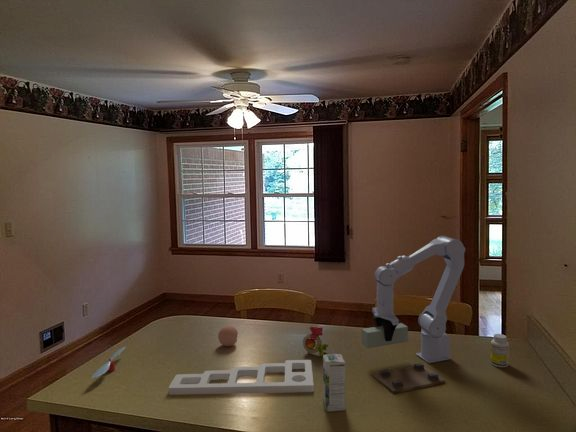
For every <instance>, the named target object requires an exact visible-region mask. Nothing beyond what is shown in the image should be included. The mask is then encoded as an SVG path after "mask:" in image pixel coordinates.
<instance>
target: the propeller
mask: <svg viewBox="0 0 576 432" xmlns="http://www.w3.org/2000/svg"><path fill="white" fill-rule="evenodd" d="M126 347H127V346H123V347H121V348H120V349H118V350H117V351H115V352H114V353H113V354H112V355H111V357H110V358H109V359H108V360H107V362H106V363H104V364H103V365H102V366H100V367H99V368H98V369H97V370H96V371H95V372H94V373H93V374H92V376H91V377H90V378H91V379H96V378H98V377H100V376H102V375H104V374H106V373H109V372H113V371H115V369H116V366H115V361H113V360H114V358H116V357H117V356H119V355H120V354H121V353H122V352H123V351H124V350H125V349H126Z"/></svg>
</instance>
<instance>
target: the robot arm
mask: <svg viewBox="0 0 576 432" xmlns="http://www.w3.org/2000/svg"><path fill="white" fill-rule="evenodd" d="M466 250H467V249H466V247H465V246H464V243H463V242H462V241H461V240H460V239H458V238H457V239H456V238H452V237H449V236H446V235H440V236H438V237H436V238H434V239H432V240H431V241H430V242H428V244H426V245H424V246H422V247H421V248H420V249H418V250H417V251H415V252H414V253H412V254H410V255H408V256H407V255H399V256H396V258H397V259H395V260H392V261H391V262H390V263H388V262H387V263H385V266H384V265H382V266H379V267H377V268H376V270H375V271H374V273H373V277H374V279H375V280H376V306H375V307H374V306H373V307H372V312H371V313H372V314H373V316H372V320H373V322H374V324H375V327H378V326H383V329H384V335H385V340H386V341H392V337H393V333H394V331H395V328H396V327H397V325H399V323H400V320H399V318H398V317H397V316H396V314H395V313H394V284H395V282H396V281H397V279H398V278H400V277H402V276H404V275H406V274H408V273H409V272H411V271H413V270H414V266H415V265H416V264H418V263H420V262H422V261H424V260H427V259H428V258H431V257H433V256H441V257H442V258H443V260H444V262H445V264H446V266H445V269H444V271H443V273H442V276H441V279H440V280H439V283H438V285H437V288H436V291H435V293H434V295H433V298H432V300H431V302H430V304H429V305H427V306H425V308H424V310H423V312H421V313H420V314H419V315H418V319H417V321H418V325H419V326H420V327H421V331H420V351H419V352H416V353H415V355H416V356H417V357H419V358H421V359H422V360H423V361H425V362H426V363H428V364H432V363H437V362H438V363H439V362H442V361H448V360H452V357H451V356H450V350H451V349H450V348H451V347H450V346H451V343H450V341H451V339H450V337H449V335H448V334H447V333H446V330H447V325H446V324H447V321H448V316H447V313H446V312H447V311H446V310H447V308H448V306H449V304H450V301H451V299H452V297H453V295H454V291H455V289H456V286H457V284H458V283H459V279H460V278H461V274H462V273H463V270H464V267H465V252H466Z"/></svg>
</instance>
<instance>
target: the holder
mask: <svg viewBox="0 0 576 432" xmlns="http://www.w3.org/2000/svg"><path fill="white" fill-rule="evenodd" d="M293 370H304V371H293ZM267 372H269V373H284V381H280V382H279V381H278V382H277V381H276V382H274V381H273V382H272V381H271V382H265V379H266V374H267ZM265 373H266V374H265ZM313 376H314V375H313V366H312V359H288V360H287V359H286V360H285V361H284V362H273V363H270V362H269V363H267V362H266V363H259V364H258V366H232V368H231V369H227V370H226V369H225V370H224V369H222V370H221V369H220V370H218V369H217V370H204V372H203V373H181V374H179V373H178V374H175V376H174V377H173V379H172V381H171V382H170V384H169V386H168V395H170V396H171V395H173V396H174V395H217V394H218V395H221V394H222V395H224V394H227V395H228V394H273V393H274V394H275V393H279V394H280V393H284V394H285V393H314V390H315V389H314V386H315V383H314V377H313ZM239 377H256V380H255V382H238V378H239ZM219 379H220V380H219ZM221 379H222V380H221ZM223 379H224V381H225V379H229V380H227V382H226V383H225V382H224V383H222V382H221V383H210V382H211V381H223Z"/></svg>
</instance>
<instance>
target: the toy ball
mask: <svg viewBox="0 0 576 432" xmlns="http://www.w3.org/2000/svg"><path fill="white" fill-rule="evenodd" d="M238 334H239V332H238V329H236V327H235V326H233V325H225V326H223V327H222V328H221V329H220V330H219V331H218V334H217V339H218V342H219V343H220V344H221V345H223V346H225V347H232V346H233V345H235V344H236V343H237V341H238Z"/></svg>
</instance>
